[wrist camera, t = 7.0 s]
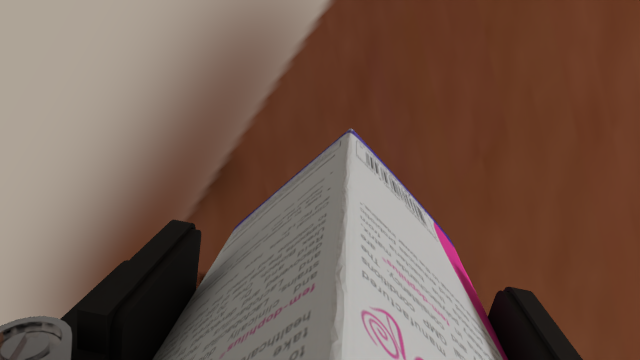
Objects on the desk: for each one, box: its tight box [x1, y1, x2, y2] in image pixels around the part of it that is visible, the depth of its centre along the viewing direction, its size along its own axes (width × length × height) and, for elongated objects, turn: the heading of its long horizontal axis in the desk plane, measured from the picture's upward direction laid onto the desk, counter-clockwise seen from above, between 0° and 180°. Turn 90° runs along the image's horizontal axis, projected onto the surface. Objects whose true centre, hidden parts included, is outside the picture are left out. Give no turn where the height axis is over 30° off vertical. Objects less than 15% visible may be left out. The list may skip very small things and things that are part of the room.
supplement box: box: [152, 129, 508, 360], centre depth 9 cm, size 6×6×12 cm
